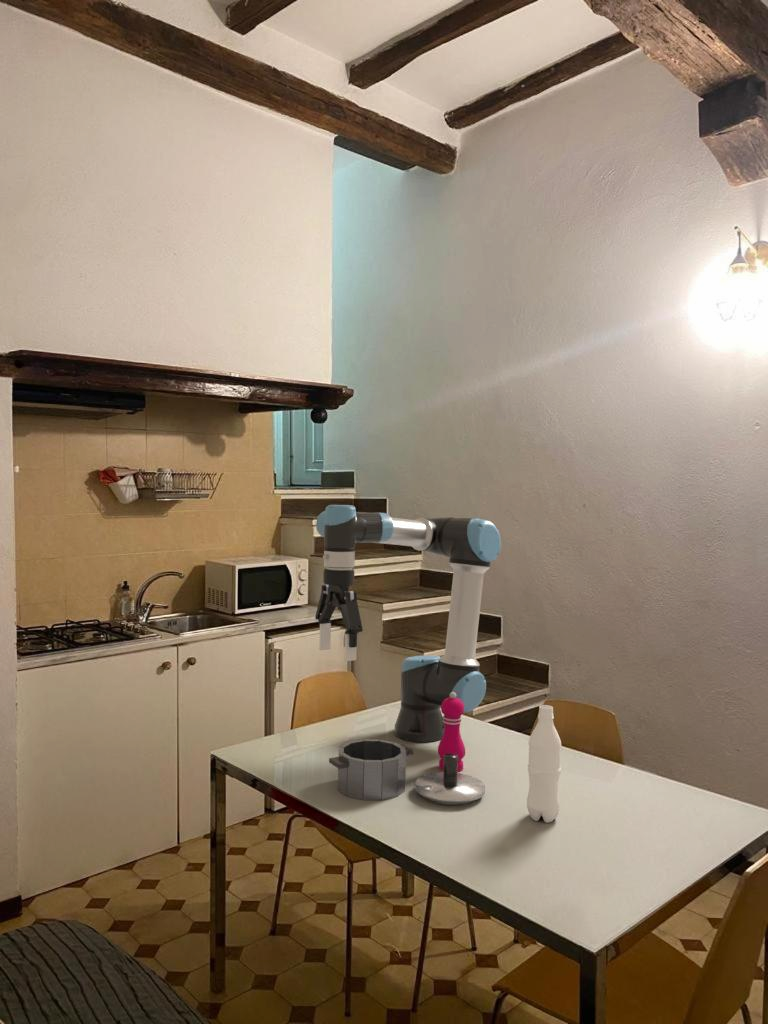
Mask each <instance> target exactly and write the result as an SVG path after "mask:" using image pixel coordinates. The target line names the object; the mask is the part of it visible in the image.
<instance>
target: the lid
mask: <svg viewBox="0 0 768 1024" xmlns="http://www.w3.org/2000/svg"><path fill="white" fill-rule="evenodd" d="M414 784H415V786H414V788H415V791H416V793H417V794H419V795H420V796H421V797H423V798H426V799H427V800H429V801H431V802H433V803H436V804H440V805H447V806H449V805H450V806H459V805H466V804H469V803H472V802H473V801H476V800H478V799H481V798H482V797H483V796H484V795H485V793H486V785H485V783H484V782H483V781H482V780H480V778H477V777H475V776H472V775H469V774H465V773H460V772H459V771H458V755H456V754H452V753H447V754H444V765H443V770H442V771H440V772H431V773H427V774H424V775H421V776H420V777H418V778H417V779H416V780H415V782H414Z"/></svg>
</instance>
